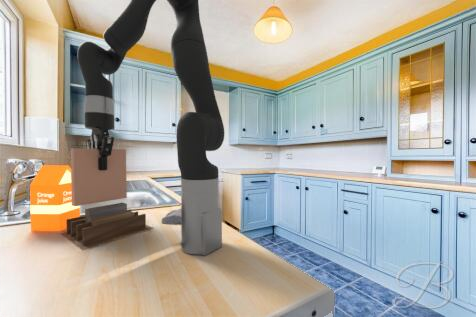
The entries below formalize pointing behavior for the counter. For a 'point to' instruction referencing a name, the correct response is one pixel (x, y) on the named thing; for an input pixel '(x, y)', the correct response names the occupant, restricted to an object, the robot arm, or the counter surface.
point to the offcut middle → (104, 211)
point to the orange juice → (52, 199)
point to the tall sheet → (97, 177)
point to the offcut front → (111, 218)
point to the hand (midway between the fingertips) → (100, 169)
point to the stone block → (172, 217)
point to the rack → (103, 230)
